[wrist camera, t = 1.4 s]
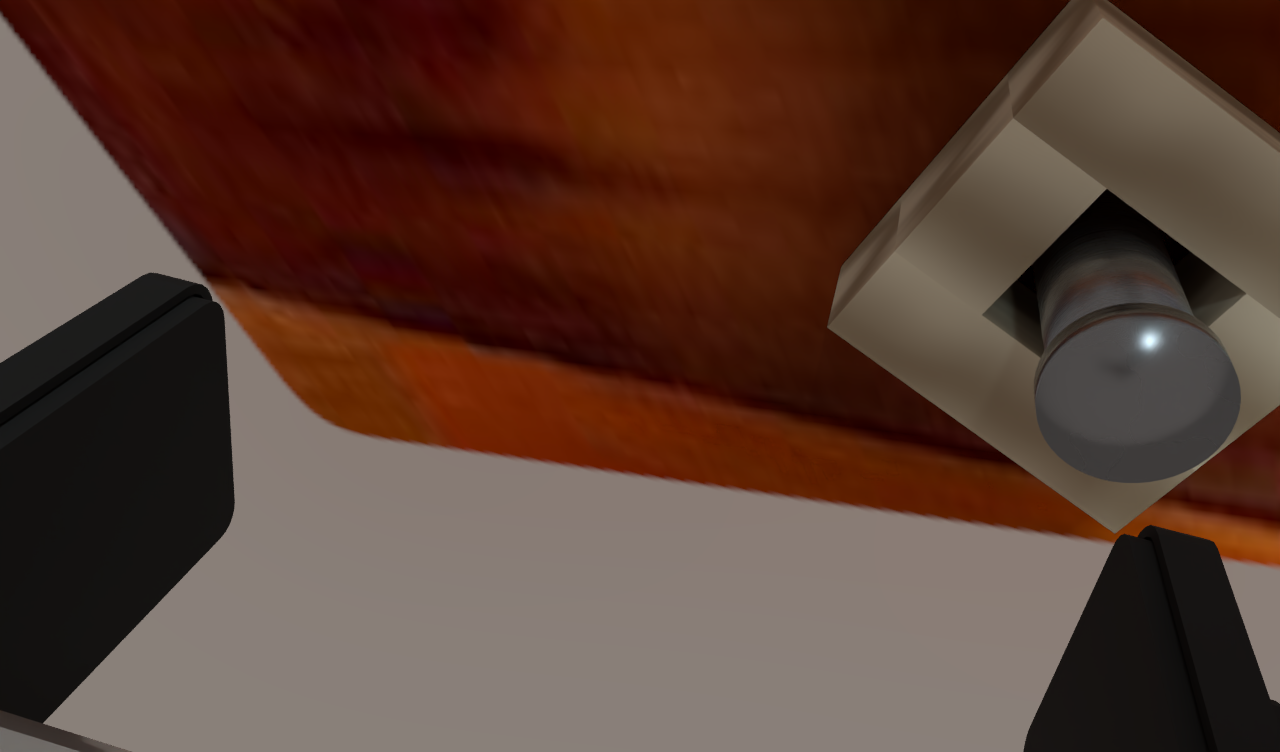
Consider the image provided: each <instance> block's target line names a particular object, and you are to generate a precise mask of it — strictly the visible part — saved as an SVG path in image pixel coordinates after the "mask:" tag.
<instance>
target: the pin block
mask: <svg viewBox="0 0 1280 752" xmlns="http://www.w3.org/2000/svg"><path fill="white" fill-rule="evenodd" d="M1106 189H1108V190H1109V191H1111V192H1112V193H1113V194H1115V195H1116V196H1117V197H1119V198H1120V199H1121V200H1123V201H1124V202H1125V203H1127V204H1128V205H1129V206H1131V207H1132V208H1133V209H1135V210H1136V211H1137V212H1139V213H1140V214H1141V215H1143V216H1144V217H1145V218H1147V219H1148V220H1149V221H1151V222H1152V223H1153V224H1155V225H1156V226H1157V227H1159V228H1160V229H1161V230H1163V231H1164V232H1165V233H1167V234H1168V235H1169V236H1171V237H1172V238H1173V239H1175V240H1176V241H1177V242H1179V243H1180V244H1181V245H1183V246H1184V247H1185V248H1187V249H1188V250H1189V251H1190V252H1189V253H1188V254H1187V255H1186V256H1185V257H1184V258H1182V259H1181V260H1180V261H1179V262H1178V263H1177V264H1176V265H1175V266H1174V268H1175V271H1176V273H1177V276H1178V278H1179V281H1180V283H1181V286H1182V288H1183V290H1184V293H1185V295H1186V298H1187V300H1188V303H1189V305H1190V308H1191V310H1192V313H1193V315H1194V317H1196V318H1197V319H1199V320H1200V321H1202V322H1203V323H1205V324H1206V325H1207V326H1208V327H1209V328H1210V329H1212V330H1213V332H1214V333H1215V334H1216V335H1217V336H1218V337H1219V339H1220V340H1221V342H1222V343H1223V345H1224V346H1225V348H1226V350H1227V353H1228V355H1229V357H1230V359H1231V362H1232V364H1233V366H1234V369H1235V371H1236V374H1237V376H1238V379H1239V384H1240V388H1241V404H1240V411H1239V414H1238V418H1237V421H1236V423H1235V425H1234V427H1233V430H1232V432H1231V433H1230V435H1229V436H1228V438H1227V439H1226V441H1225V442H1224V443H1223V444H1222V445H1221V446H1220V448H1219V449H1218V450H1217V451H1216V452H1215V453H1213V454H1212V455H1211V456H1210V457H1209V458H1208V459H1206V460H1205V461H1203V462H1202V463H1200V464H1199V465H1197V466H1196V467H1194V468H1192V469H1190V470H1188V471H1186V472H1184V473H1181V474H1179V475H1176V476H1173V477H1170V478H1167V479H1163V480H1158V481H1153V482H1145V483H1120V482H1111V481H1107V480H1102V479H1098V478H1095V477H1092V476H1090V475H1087V474H1085V473H1083V472H1080V471H1078V470H1076V469H1075V468H1073V467H1072V466H1070V465H1068V464H1067V463H1066V462H1064V461H1063V460H1062V459H1061V458H1060V457H1058V456H1057V455H1056V453H1055V452H1054V451H1053V450H1052V449H1051V448H1050V447H1049V445H1048V444H1047V442H1046V441H1045V439H1044V437H1043V435H1042V433H1041V431H1040V428H1039V425H1038V422H1037V416H1036V409H1035V399H1034V378H1035V372H1036V369H1037V366H1038V363H1039V360H1040V358H1041V356H1042V354H1043V352H1044V346H1043V338H1042V330H1041V323H1040V315H1039V308H1038V300H1037V294H1035V293H1034V292H1033V291H1031V290H1030V289H1028V288H1027V287H1026V286H1024V285H1023V284H1022V283H1020V282H1019V281H1018V280H1017V279H1018V278H1019V277H1020V276H1021V275H1022V274H1023V273H1024V272H1025V271H1026V270H1027V269H1028V268H1029V267H1030V266H1031V265H1032V264H1033V263H1034V262H1035V261H1036V260H1037V259H1038V258H1039V257H1040V256H1041V255H1042V254H1043V253H1044V251H1045V250H1046V249H1047V248H1048V247H1049V246H1050V245H1051V244H1052V243H1053V242H1054V241H1055V240H1056V239H1057V238H1058V237H1059V236H1060V235H1061V234H1062V233H1063V232H1064V231H1065V230H1066V229H1067V228H1068V227H1069V226H1070V225H1071V224H1072V223H1073V222H1074V221H1075V220H1076V219H1077V218H1078V217H1079V216H1080V215H1081V214H1082V213H1083V212H1084V211H1085V210H1086V209H1087V208H1088V207H1089V206H1090V205H1091V204H1092V203H1093V202H1094V201H1095V200H1096V199H1097V198H1098V197H1099V196H1100V195H1101V194H1102V193H1103V192H1104V191H1105V190H1106ZM827 328H829V329H830V330H831V331H833V332H834V333H836V334H837V335H838V336H840V337H841V338H842V339H844V340H845V341H847V342H848V343H849V344H851V345H852V346H854V347H855V348H856V349H858V350H859V351H861V352H862V353H863V354H865V355H866V356H868V357H869V358H870V359H872V360H873V361H875V362H876V363H877V364H879V365H880V366H882V367H883V368H884V369H886V370H887V371H889V372H890V373H891V374H893V375H894V376H896V377H897V378H898V379H900V380H901V381H902V382H904V383H905V384H907V385H908V386H909V387H911V388H912V389H914V390H915V391H916V392H918V393H919V394H921V395H922V396H923V397H925V398H926V399H928V400H929V401H930V402H932V403H933V404H935V405H936V406H937V407H939V408H940V409H942V410H943V411H944V412H946V413H947V414H949V415H950V416H951V417H953V418H954V419H955V420H957V421H958V422H960V423H961V424H962V425H964V426H965V427H967V428H968V429H969V430H971V431H972V432H974V433H975V434H976V435H978V436H979V437H981V438H982V439H983V440H985V441H986V442H988V443H989V444H990V445H992V446H993V447H995V448H996V449H997V450H999V451H1000V452H1002V453H1003V454H1004V455H1006V456H1007V457H1009V458H1010V459H1011V460H1013V461H1014V462H1015V463H1017V464H1018V465H1020V466H1021V467H1022V468H1024V469H1025V470H1027V471H1028V472H1029V473H1031V474H1032V475H1034V476H1035V477H1036V478H1038V479H1039V480H1041V481H1042V482H1043V483H1045V484H1046V485H1048V486H1049V487H1050V488H1052V489H1053V490H1055V491H1056V492H1057V493H1059V494H1060V495H1062V496H1063V497H1064V498H1066V499H1067V500H1069V501H1070V502H1071V503H1073V504H1074V505H1075V506H1077V507H1078V508H1080V509H1081V510H1082V511H1084V512H1085V513H1087V514H1088V515H1089V516H1091V517H1092V518H1094V519H1095V520H1096V521H1098V522H1099V523H1101V524H1102V525H1103V526H1105V527H1106V528H1108V529H1109V530H1110V531H1112V532H1113V533H1116V532H1118V531H1119V530H1120V529H1121V528H1123V527H1124V526H1125V525H1127V524H1128V523H1129V522H1130V521H1132V520H1133V519H1134V518H1135V517H1137V516H1138V515H1139V514H1141V513H1142V512H1143V511H1144V510H1146V509H1147V508H1148V507H1150V506H1151V505H1152V504H1153V503H1155V502H1156V501H1157V500H1159V499H1160V498H1161V497H1162V496H1164V495H1165V494H1166V493H1167V492H1169V491H1170V490H1171V489H1173V488H1174V487H1175V486H1176V485H1178V484H1179V483H1180V482H1182V481H1183V480H1184V479H1185V478H1187V477H1188V476H1189V475H1190V474H1192V473H1193V472H1194V471H1196V470H1197V469H1198V468H1199V467H1201V466H1202V465H1203V464H1205V463H1206V462H1207V461H1208V460H1210V459H1211V458H1212V457H1214V456H1215V455H1216V454H1217V453H1219V452H1220V451H1221V450H1222V449H1224V448H1225V447H1226V446H1228V445H1229V444H1230V443H1231V442H1233V441H1234V440H1235V439H1237V438H1238V437H1239V436H1240V435H1242V434H1243V433H1244V432H1245V431H1247V430H1248V429H1249V428H1251V427H1252V426H1253V425H1254V424H1256V423H1257V422H1258V421H1260V420H1261V419H1262V418H1263V417H1265V416H1266V415H1267V414H1269V413H1270V412H1271V411H1272V410H1274V409H1275V408H1276V407H1277V406H1279V405H1280V133H1279V132H1278V131H1276V130H1275V129H1274V128H1273V127H1271V126H1270V125H1269V124H1267V123H1266V122H1265V121H1264V120H1262V119H1261V118H1260V117H1258V116H1257V115H1256V114H1254V113H1253V112H1252V111H1251V110H1249V109H1248V108H1247V107H1245V106H1244V105H1243V104H1241V103H1240V102H1239V101H1238V100H1236V99H1235V98H1234V97H1232V96H1231V95H1230V94H1228V93H1227V92H1226V91H1225V90H1223V89H1222V88H1221V87H1219V86H1218V85H1217V84H1215V83H1214V82H1213V81H1212V80H1210V79H1209V78H1208V77H1206V76H1205V75H1204V74H1202V73H1201V72H1200V71H1199V70H1197V69H1196V68H1195V67H1193V66H1192V65H1191V64H1190V63H1188V62H1187V61H1186V60H1184V59H1183V58H1182V57H1180V56H1179V55H1178V54H1177V53H1175V52H1174V51H1173V50H1171V49H1170V48H1169V47H1167V46H1166V45H1165V44H1164V43H1162V42H1161V41H1160V40H1158V39H1157V38H1156V37H1154V36H1153V35H1152V34H1151V33H1149V32H1148V31H1147V30H1145V29H1144V28H1143V27H1141V26H1140V25H1139V24H1138V23H1136V22H1135V21H1134V20H1132V19H1131V18H1130V17H1128V16H1127V15H1126V14H1125V13H1123V12H1122V11H1121V10H1119V9H1118V8H1117V7H1116V6H1114V5H1113V4H1112V3H1110V2H1109V1H1108V0H1071V1H1070V2H1069V3H1068V4H1067V5H1066V6H1065V8H1064V9H1063V10H1062V11H1061V12H1060V13H1059V14H1058V16H1057V17H1056V18H1055V19H1054V20H1053V21H1052V23H1051V24H1050V25H1049V26H1048V27H1047V28H1046V30H1045V31H1044V32H1043V33H1042V34H1041V35H1040V37H1039V38H1038V39H1037V40H1036V41H1035V42H1034V43H1033V45H1032V46H1031V47H1030V48H1029V49H1028V50H1027V52H1026V53H1025V54H1024V55H1023V56H1022V57H1021V59H1020V60H1019V61H1018V62H1017V63H1016V64H1015V65H1014V67H1013V68H1012V69H1011V70H1010V71H1009V72H1008V74H1007V75H1006V76H1005V77H1004V78H1003V79H1002V81H1001V82H1000V83H999V84H998V85H997V86H996V88H995V89H994V90H993V91H992V92H991V93H990V94H989V96H988V97H987V98H986V99H985V100H984V101H983V103H982V104H981V105H980V106H979V107H978V108H977V110H976V111H975V112H974V113H973V114H972V115H971V117H970V118H969V119H968V120H967V121H966V122H965V123H964V125H963V126H962V127H961V128H960V129H959V130H958V132H957V133H956V134H955V135H954V136H953V137H952V139H951V140H950V141H949V142H948V143H947V144H946V145H945V147H944V148H943V149H942V150H941V151H940V152H939V154H938V155H937V156H936V157H935V158H934V159H933V161H932V162H931V163H930V164H929V165H928V166H927V168H926V169H925V170H924V171H923V172H922V173H921V174H920V176H919V177H918V178H917V179H916V180H915V181H914V183H913V184H912V185H911V186H910V187H909V188H908V190H907V191H906V192H905V193H904V194H903V195H902V196H901V198H900V199H899V200H898V201H897V202H896V203H895V205H894V206H893V207H892V208H891V209H890V210H889V212H888V213H887V214H886V215H885V216H884V217H883V219H882V220H881V221H880V222H879V223H878V224H877V225H876V227H875V228H874V229H873V230H872V231H871V232H870V234H869V235H868V236H867V237H866V238H865V239H864V241H863V242H862V243H861V244H860V245H859V246H858V247H857V249H856V250H855V251H854V252H853V253H852V254H851V256H850V257H849V258H848V259H847V260H846V261H845V263H844V264H843V265H842V266H841V270H840V274H839V279H838V283H837V287H836V291H835V296H834V300H833V304H832V308H831V313H830V317H829V321H828V325H827Z"/></svg>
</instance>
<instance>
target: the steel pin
mask: <svg viewBox="0 0 1280 752" xmlns="http://www.w3.org/2000/svg"><path fill="white" fill-rule="evenodd" d="M1033 270H1034V278H1035V285H1036V293H1037V300H1038V308H1039V315H1040V323H1041V330H1042V338H1043V346H1044V352H1043V354H1042V356H1041V358H1040V360H1039V363H1038V366H1037V369H1036V372H1035V378H1034V399H1035V409H1036V416H1037V422H1038V425H1039V428H1040V431H1041V433H1042V435H1043V437H1044V439H1045V441H1046V442H1047V444H1048V445H1049V447H1050V448H1051V449H1052V450H1053V451H1054V452H1055V453H1056V455H1057V456H1058V457H1060V458H1061V459H1062V460H1063V461H1064V462H1066V463H1067V464H1068V465H1070V466H1072V467H1073V468H1075V469H1076V470H1078V471H1080V472H1083V473H1085V474H1087V475H1090V476H1092V477H1095V478H1098V479H1102V480H1107V481H1111V482H1120V483H1145V482H1153V481H1158V480H1163V479H1167V478H1170V477H1173V476H1176V475H1179V474H1181V473H1184V472H1186V471H1188V470H1190V469H1192V468H1194V467H1196V466H1197V465H1199V464H1200V463H1202V462H1203V461H1205V460H1206V459H1208V458H1209V457H1210V456H1211V455H1212V454H1213V453H1215V452H1216V451H1217V450H1218V449H1219V448H1220V446H1221V445H1222V444H1223V443H1224V442H1225V441H1226V439H1227V438H1228V436H1229V435H1230V433H1231V432H1232V430H1233V427H1234V425H1235V423H1236V421H1237V418H1238V414H1239V411H1240V404H1241V388H1240V384H1239V379H1238V376H1237V374H1236V371H1235V369H1234V366H1233V364H1232V362H1231V359H1230V357H1229V355H1228V353H1227V350H1226V348H1225V346H1224V345H1223V343H1222V342H1221V340H1220V339H1219V337H1218V336H1217V335H1216V334H1215V333H1214V332H1213V330H1212V329H1210V328H1209V327H1208V326H1207V325H1206V324H1205V323H1203V322H1202V321H1200V320H1199V319H1197V318H1196V317H1194V315H1193V313H1192V310H1191V308H1190V305H1189V303H1188V300H1187V298H1186V295H1185V293H1184V290H1183V288H1182V286H1181V283H1180V281H1179V278H1178V276H1177V273H1176V271H1175V268H1174V266H1173V263H1172V261H1171V258H1170V256H1169V253H1168V251H1167V248H1166V246H1165V243H1164V241H1163V238H1162V236H1161V233H1160V231H1159V228H1158V227H1157V226H1156V225H1155V224H1153V223H1152V222H1151V221H1149V220H1148V219H1147V218H1145V217H1144V216H1143V215H1141V214H1140V213H1139V212H1137V211H1136V210H1135V209H1133V208H1132V207H1131V206H1129V205H1128V204H1127V203H1125V202H1124V201H1123V200H1121V199H1120V198H1119V197H1117V196H1116V195H1115V194H1113V193H1112V192H1111V191H1109V190H1108V189H1106V190H1105V191H1104V192H1103V193H1102V194H1101V195H1100V196H1099V197H1098V198H1097V199H1096V200H1095V201H1094V202H1093V203H1092V204H1091V205H1090V206H1089V207H1088V208H1087V209H1086V210H1085V211H1084V212H1083V213H1082V214H1081V215H1080V216H1079V217H1078V218H1077V219H1076V220H1075V221H1074V222H1073V223H1072V224H1071V225H1070V226H1069V227H1068V228H1067V229H1066V230H1065V231H1064V232H1063V233H1062V234H1061V235H1060V236H1059V237H1058V238H1057V239H1056V240H1055V241H1054V242H1053V243H1052V244H1051V245H1050V246H1049V247H1048V248H1047V249H1046V250H1045V251H1044V253H1043V254H1042V255H1041V256H1040V257H1039V258H1038V259H1037V260H1036V261H1035V262H1034V263H1033Z"/></svg>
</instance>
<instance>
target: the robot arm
mask: <svg viewBox="0 0 1280 752" xmlns="http://www.w3.org/2000/svg"><path fill="white" fill-rule="evenodd" d="M227 375H228V374H227V356H226V340H225V321H224V313H223V310H222V308H221V306H220V305H219V304H218V303H217V302H213V301H212V296H211V294H210V292H209V290H208V289H207V288H206V287H204V286H203V285H201V284H197V283H193V282H189V281H185V280H182V279H178V278H173V277H170V276H166V275H162V274H158V273H148V274H145V275H143V276H141V277H139V278H138V279H136V280H135V281H133V282H131V283H130V284H128V285H127V286H125V287H123V288H122V289H120V290H118V291H117V292H115V293H113V294H112V295H110V296H108V297H107V298H105V299H104V300H102V301H100V302H99V303H98V304H96V305H94V306H92V307H91V308H89V309H88V310H86V311H84V312H83V313H81V314H79V315H78V316H76V317H74V318H73V319H71V320H70V321H68V322H66V323H65V324H63V325H61V326H60V327H58V328H57V329H55V330H54V331H52V332H50V333H48V334H47V335H45V336H44V337H42V338H40V339H39V340H37V341H36V342H34V343H32V344H31V345H29V346H27V347H26V348H24V349H22V350H21V351H20V352H18V353H16V354H14V355H13V356H11V357H10V358H8V359H6V360H5V361H3V362H1V363H0V752H131V751H128V750H125V749H121V748H118V747H115V746H112V745H108V744H105V743H102V742H99V741H96V740H93V739H90V738H86V737H83V736H80V735H77V734H74V733H71V732H67V731H64V730H61V729H58V728H55V727H52V726H48V725H45V724H43V722H44V721H45V720H46V719H47V718H48V717H49V716H50V715H51V714H52V713H53V712H54V711H55V710H56V709H57V708H58V707H59V706H60V705H61V704H62V703H63V702H64V701H65V700H66V698H67V697H68V696H69V695H70V694H71V693H72V692H73V691H74V690H75V689H76V688H77V687H78V686H79V685H80V684H81V683H82V682H83V681H84V680H85V679H86V678H87V677H88V676H89V675H90V673H91V672H92V671H93V670H94V669H95V668H96V667H97V666H98V665H99V664H100V663H101V662H102V661H103V660H104V659H105V658H106V657H107V656H108V655H109V654H110V653H111V652H112V651H113V650H114V649H115V647H116V646H117V645H118V644H119V643H120V642H121V641H122V640H123V639H124V638H125V637H126V636H127V635H128V634H129V633H130V632H131V631H132V630H133V629H134V628H135V627H136V625H138V624H139V622H140V621H141V620H142V619H143V618H144V617H145V616H146V615H147V614H148V613H149V612H150V611H151V610H152V609H153V608H154V607H155V606H156V605H157V604H158V603H159V602H160V601H161V600H162V598H163V597H164V596H165V595H166V594H167V593H168V592H169V591H170V590H171V589H172V588H173V587H174V586H175V585H176V584H177V583H178V582H179V581H180V580H181V579H182V578H183V576H185V575H186V574H187V573H188V571H189V570H190V569H191V568H192V567H193V566H194V565H195V564H196V563H197V562H198V561H199V560H200V559H201V558H202V557H203V556H204V555H205V554H206V553H207V552H208V551H209V550H210V549H211V548H212V546H213V545H214V544H215V543H216V542H217V541H218V540H219V539H220V538H221V537H222V536H223V534H224V533H225V532H226V530H227V528H228V526H229V524H230V522H231V519H232V516H233V512H234V503H235V502H234V501H235V500H234V482H233V464H232V446H231V429H230V410H229V393H228V376H227ZM1024 752H1280V704H1279V703H1278V702H1276V701H1274V700H1270V698H1269V695H1268V692H1267V689H1266V686H1265V683H1264V680H1263V678H1262V675H1261V672H1260V669H1259V666H1258V663H1257V660H1256V657H1255V655H1254V652H1253V649H1252V646H1251V643H1250V640H1249V637H1248V634H1247V631H1246V629H1245V626H1244V623H1243V620H1242V617H1241V614H1240V612H1239V608H1238V606H1237V603H1236V600H1235V597H1234V594H1233V591H1232V588H1231V585H1230V583H1229V580H1228V577H1227V574H1226V571H1225V568H1224V565H1223V562H1222V560H1221V557H1220V554H1219V551H1218V548H1217V547H1216V545H1215V543H1214V542H1212V541H1210V540H1207V539H1204V538H1200V537H1196V536H1192V535H1188V534H1184V533H1180V532H1176V531H1172V530H1168V529H1164V528H1160V527H1156V526H1152V525H1149V526H1147V527H1145V528H1144V529H1143V530H1142V531H1141V532H1140V534H1139V535H1138V537H1134V536H1130V535H1126V534H1123V535H1121V536H1120V537H1119V538H1118V539H1117V541H1116V542H1115V544H1114V546H1113V548H1112V550H1111V553H1110V554H1109V557H1108V559H1107V561H1106V563H1105V565H1104V567H1103V570H1102V572H1101V574H1100V576H1099V578H1098V581H1097V583H1096V585H1095V587H1094V589H1093V591H1092V593H1091V596H1090V598H1089V600H1088V602H1087V604H1086V607H1085V609H1084V611H1083V613H1082V615H1081V617H1080V620H1079V622H1078V624H1077V626H1076V628H1075V630H1074V633H1073V635H1072V637H1071V639H1070V641H1069V643H1068V646H1067V648H1066V650H1065V652H1064V654H1063V656H1062V659H1061V661H1060V663H1059V665H1058V667H1057V669H1056V672H1055V674H1054V676H1053V678H1052V680H1051V683H1050V685H1049V687H1048V689H1047V691H1046V693H1045V696H1044V698H1043V700H1042V702H1041V704H1040V706H1039V708H1038V711H1037V713H1036V715H1035V717H1034V719H1033V722H1032V724H1031V726H1030V728H1029V731H1028V734H1027V737H1026V741H1025V746H1024Z"/></svg>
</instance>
